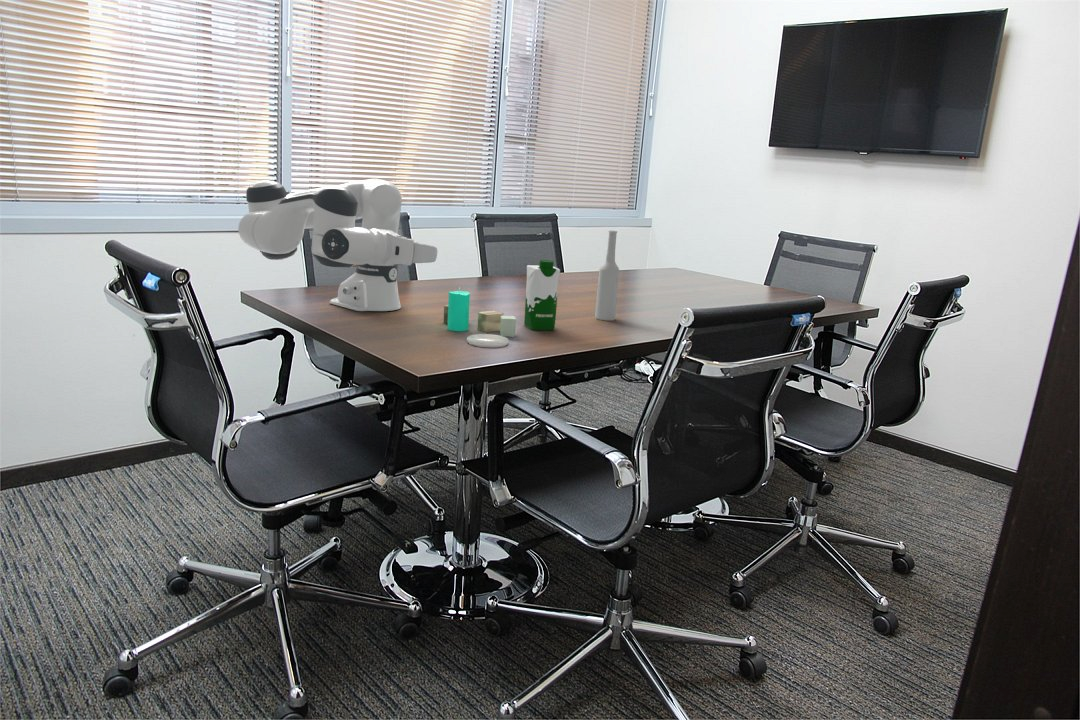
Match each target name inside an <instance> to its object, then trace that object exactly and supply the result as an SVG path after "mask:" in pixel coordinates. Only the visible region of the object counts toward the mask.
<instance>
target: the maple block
mask: <svg viewBox="0 0 1080 720" xmlns="http://www.w3.org/2000/svg"><path fill="white" fill-rule="evenodd" d="M501 316H504V312H500V311H497V310H489V311H487V310H485V311H478V313H477V328H476V329H477V330H478V331H481V330H482V332H484V331H485V333H490V332H497V331H498V332H500V321H501Z"/></svg>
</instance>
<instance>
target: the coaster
mask: <svg viewBox="0 0 1080 720" xmlns="http://www.w3.org/2000/svg"><path fill="white" fill-rule="evenodd" d="M466 343H467V344H468V343H469V345H471V346H474V347H480V348H493V349H494V348H503V347H506V346H508V344H509V338H508V337H507V336H501V335H500V334H499V335H497V334H491V333H490V334H489V333H488V334H487V333H479V334H478V333H477V334H470V335H468V336H467V337H466Z"/></svg>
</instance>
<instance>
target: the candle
mask: <svg viewBox="0 0 1080 720" xmlns="http://www.w3.org/2000/svg"><path fill="white" fill-rule="evenodd" d="M470 299H471V293H470V292H469V291H464V290H461V287H460V286H459V290H456V291H455V290H454V291H448V303H447V305H448V323H447V330H449V331H451V332H452V331H453V332H467V331H469V324H470V323H469V321H470V318H469V317H470V301H471V300H470Z"/></svg>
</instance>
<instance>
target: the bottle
mask: <svg viewBox="0 0 1080 720" xmlns="http://www.w3.org/2000/svg"><path fill="white" fill-rule="evenodd" d="M617 233H618V231H617V230H608V240H607V250H606V255H605V256H606V257H605V261H604V262H603V263H602V264H601V265H600V267H599V272H598V281H597V282H598V283H597V293H596V304H595V315H594V319H596V320H599V321H607V322H608V321H616V316H617V315H616V314H617V303H618V292H619V281H620V269H619V266H618V265H617V263H616V245H617Z"/></svg>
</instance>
